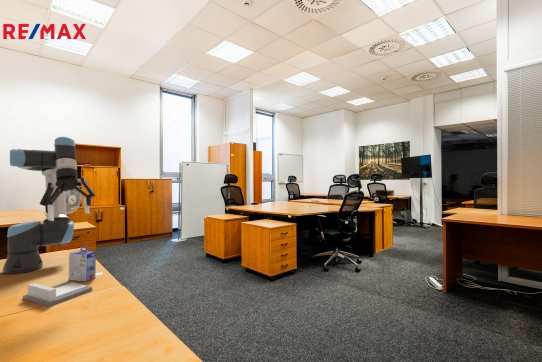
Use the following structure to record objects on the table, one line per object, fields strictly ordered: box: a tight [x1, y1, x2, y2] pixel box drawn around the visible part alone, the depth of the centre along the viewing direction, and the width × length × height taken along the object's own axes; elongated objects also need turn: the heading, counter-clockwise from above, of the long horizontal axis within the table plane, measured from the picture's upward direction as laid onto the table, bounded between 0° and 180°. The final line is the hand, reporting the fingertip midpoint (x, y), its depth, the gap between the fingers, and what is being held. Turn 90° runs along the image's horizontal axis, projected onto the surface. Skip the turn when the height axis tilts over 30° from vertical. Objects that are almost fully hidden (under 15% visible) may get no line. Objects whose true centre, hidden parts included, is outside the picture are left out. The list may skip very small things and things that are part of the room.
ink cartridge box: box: [67, 246, 97, 282], centre depth 127 cm, size 10×6×14 cm, turn 78°
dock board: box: [22, 281, 93, 307], centre depth 110 cm, size 16×16×5 cm
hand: (69, 216), depth 117 cm, fingers open, 13 cm apart
